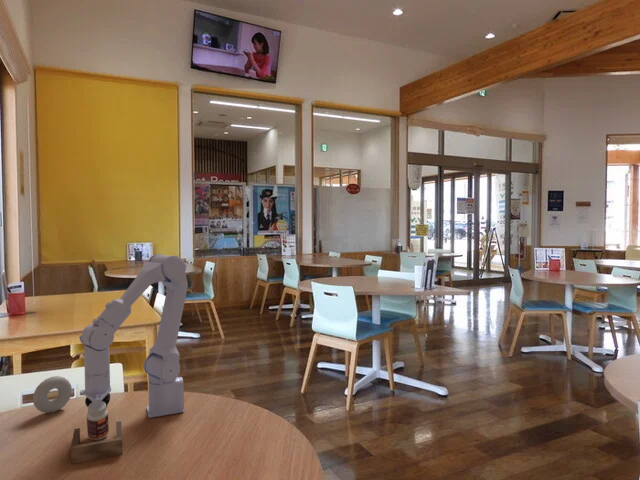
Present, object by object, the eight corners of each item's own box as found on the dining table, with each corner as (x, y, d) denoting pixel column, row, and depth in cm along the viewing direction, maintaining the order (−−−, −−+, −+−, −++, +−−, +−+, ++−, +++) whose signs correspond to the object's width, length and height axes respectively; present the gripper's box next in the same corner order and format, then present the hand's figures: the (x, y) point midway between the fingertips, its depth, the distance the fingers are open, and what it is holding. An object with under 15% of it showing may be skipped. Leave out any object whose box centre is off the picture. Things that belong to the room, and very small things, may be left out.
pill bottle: (100, 442, 111) (98, 414, 108) (83, 437, 111) (81, 409, 109) (113, 429, 115) (112, 402, 112) (96, 424, 116) (95, 397, 113)
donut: (36, 419, 123) (35, 383, 122) (31, 416, 125) (30, 380, 124) (74, 407, 131) (73, 373, 130) (69, 404, 133) (68, 370, 132)
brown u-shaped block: (121, 434, 114) (121, 421, 114) (122, 454, 105) (122, 439, 105) (74, 443, 110) (74, 428, 110) (71, 464, 100) (70, 448, 100)
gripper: (81, 365, 120) (82, 416, 120) (77, 383, 106) (78, 440, 107) (110, 362, 122) (111, 411, 123) (110, 379, 109) (111, 435, 110)
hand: (98, 424), depth 115 cm, fingers closed, pressing on pill bottle
